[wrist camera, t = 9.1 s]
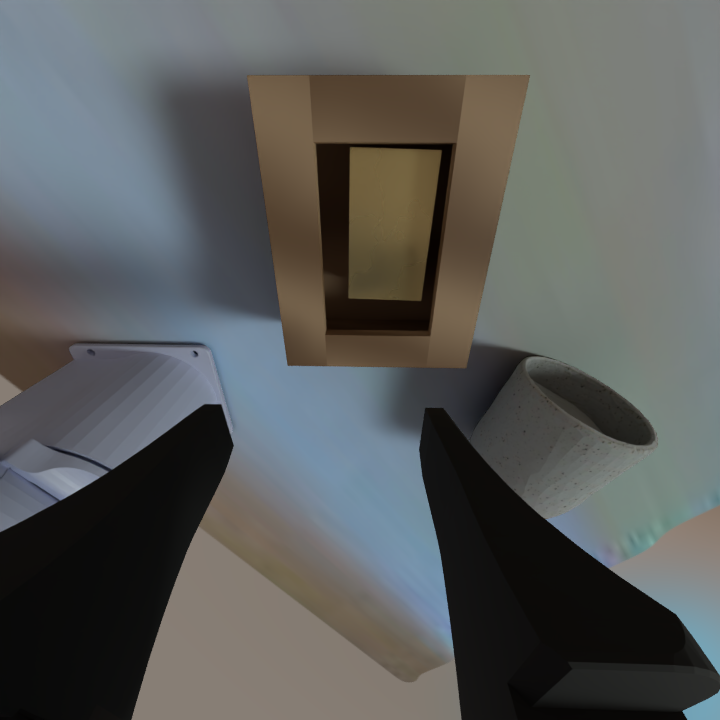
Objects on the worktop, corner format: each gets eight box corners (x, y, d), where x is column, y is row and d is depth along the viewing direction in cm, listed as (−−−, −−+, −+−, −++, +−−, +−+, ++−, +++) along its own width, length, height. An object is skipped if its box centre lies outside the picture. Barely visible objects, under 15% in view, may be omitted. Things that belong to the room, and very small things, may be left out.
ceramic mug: (449, 430, 24) (481, 525, 18) (501, 343, 20) (569, 425, 14) (564, 456, 26) (634, 552, 19) (635, 380, 22) (754, 470, 15)
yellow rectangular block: (412, 280, 18) (421, 300, 15) (351, 278, 18) (348, 298, 15) (427, 155, 15) (442, 150, 12) (353, 152, 15) (350, 146, 12)
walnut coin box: (444, 326, 20) (466, 368, 15) (304, 324, 20) (287, 365, 16) (480, 105, 14) (529, 75, 10) (283, 105, 14) (247, 75, 10)
